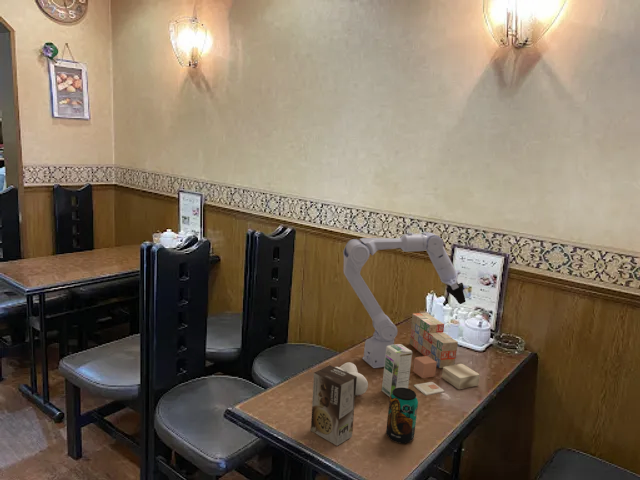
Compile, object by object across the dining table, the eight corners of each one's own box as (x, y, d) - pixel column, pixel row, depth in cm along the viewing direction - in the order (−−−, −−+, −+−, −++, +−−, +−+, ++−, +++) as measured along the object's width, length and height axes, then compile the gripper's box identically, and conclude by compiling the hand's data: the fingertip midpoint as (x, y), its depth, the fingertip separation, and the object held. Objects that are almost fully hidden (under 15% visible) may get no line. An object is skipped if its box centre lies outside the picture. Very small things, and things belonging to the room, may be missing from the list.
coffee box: (353, 436, 119) (358, 376, 116) (336, 447, 114) (341, 385, 111) (325, 421, 125) (330, 363, 122) (309, 430, 120) (313, 371, 117)
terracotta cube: (422, 378, 152) (424, 364, 152) (413, 371, 157) (414, 357, 156) (435, 376, 155) (436, 362, 154) (425, 369, 159) (427, 355, 158)
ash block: (458, 390, 147) (460, 378, 146) (441, 378, 154) (442, 367, 153) (478, 386, 150) (479, 374, 150) (460, 374, 157) (461, 363, 157)
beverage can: (381, 437, 119) (385, 393, 117) (393, 425, 125) (397, 383, 122) (407, 448, 115) (412, 403, 113) (418, 435, 121) (423, 392, 119)
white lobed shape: (318, 387, 142) (320, 359, 140) (355, 384, 146) (357, 356, 144) (330, 407, 131) (333, 377, 130) (370, 403, 135) (373, 374, 134)
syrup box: (380, 390, 143) (385, 345, 140) (396, 387, 145) (401, 343, 143) (391, 400, 138) (396, 353, 135) (408, 396, 140) (413, 350, 138)
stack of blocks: (455, 367, 162) (459, 333, 160) (439, 368, 160) (443, 334, 158) (423, 342, 182) (427, 312, 180) (409, 343, 180) (412, 312, 178)
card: (425, 395, 141) (425, 393, 141) (413, 386, 147) (414, 384, 147) (444, 391, 144) (444, 390, 144) (432, 382, 150) (432, 381, 150)
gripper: (459, 267, 151) (476, 301, 154) (449, 252, 165) (465, 284, 168) (438, 276, 152) (456, 310, 156) (430, 261, 166) (447, 293, 169)
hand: (459, 297), depth 162 cm, fingers open, 7 cm apart
